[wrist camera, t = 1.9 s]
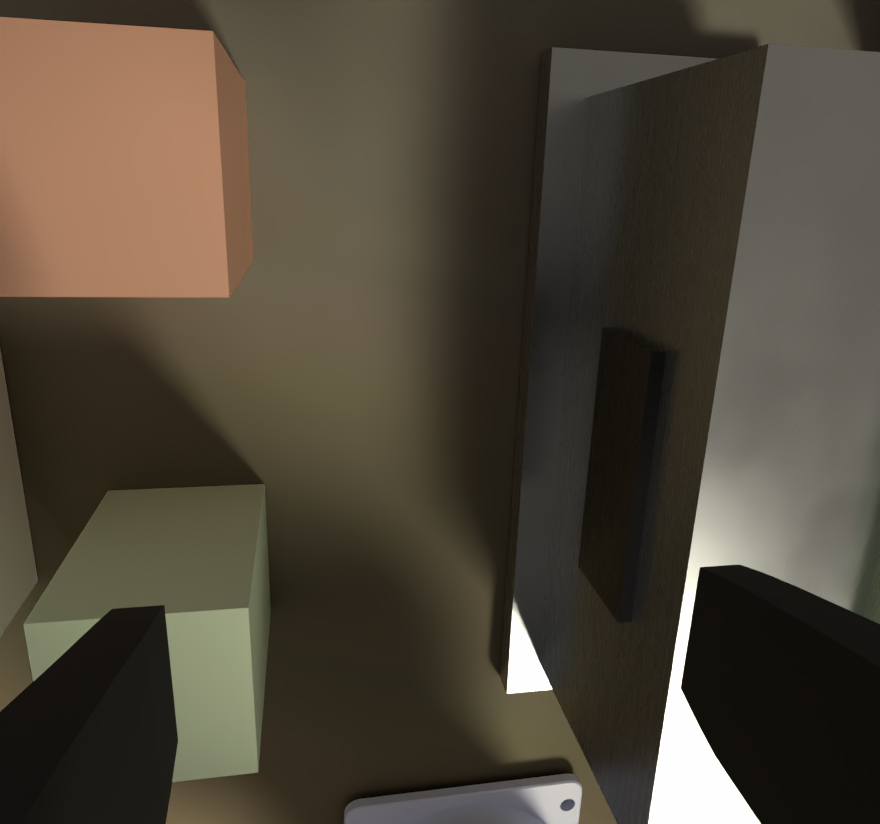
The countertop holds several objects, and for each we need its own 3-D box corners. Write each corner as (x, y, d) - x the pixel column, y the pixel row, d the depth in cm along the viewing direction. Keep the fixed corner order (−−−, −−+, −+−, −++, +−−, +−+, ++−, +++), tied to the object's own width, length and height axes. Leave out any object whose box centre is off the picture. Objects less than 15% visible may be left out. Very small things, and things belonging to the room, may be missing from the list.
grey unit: (673, 660, 24) (859, 902, 16) (499, 677, 23) (605, 945, 15) (765, 67, 18) (1120, -19, 10) (541, 52, 17) (745, -57, 9)
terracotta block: (253, 259, 18) (229, 297, 12) (79, 257, 17) (-34, 296, 11) (245, 81, 16) (213, 30, 11) (56, 71, 16) (-84, 10, 10)
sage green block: (270, 610, 21) (258, 772, 15) (124, 621, 20) (52, 796, 14) (264, 483, 19) (248, 607, 14) (108, 490, 19) (23, 623, 13)
